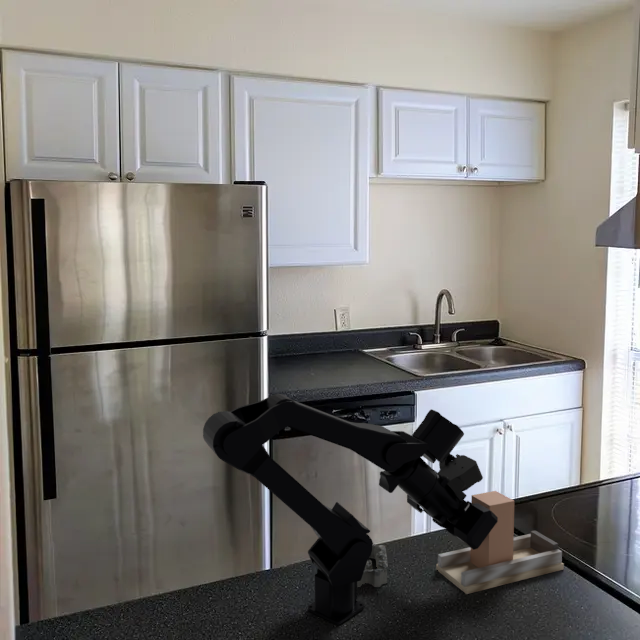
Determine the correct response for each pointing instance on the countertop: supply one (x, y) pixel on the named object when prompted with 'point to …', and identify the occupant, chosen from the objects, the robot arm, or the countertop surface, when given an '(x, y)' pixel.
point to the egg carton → (380, 573)
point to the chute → (502, 564)
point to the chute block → (495, 530)
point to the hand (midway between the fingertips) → (478, 536)
